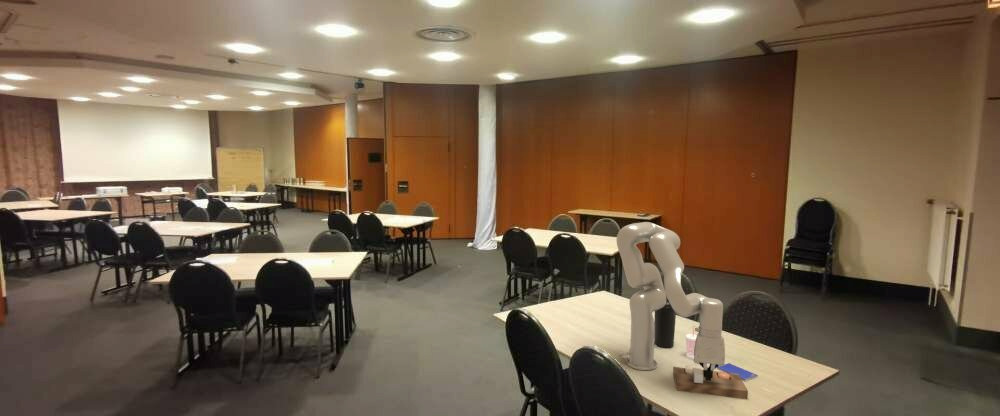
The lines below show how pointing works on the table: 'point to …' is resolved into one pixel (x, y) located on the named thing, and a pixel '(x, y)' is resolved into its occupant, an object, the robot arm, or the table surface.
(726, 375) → the terracotta button
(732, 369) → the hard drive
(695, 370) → the grey block
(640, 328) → the robot arm
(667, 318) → the water bottle
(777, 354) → the table surface
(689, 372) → the cream button
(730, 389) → the panel
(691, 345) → the beverage cup
